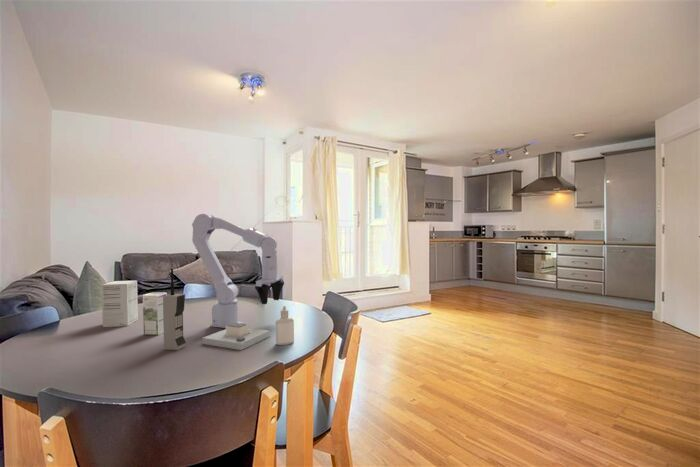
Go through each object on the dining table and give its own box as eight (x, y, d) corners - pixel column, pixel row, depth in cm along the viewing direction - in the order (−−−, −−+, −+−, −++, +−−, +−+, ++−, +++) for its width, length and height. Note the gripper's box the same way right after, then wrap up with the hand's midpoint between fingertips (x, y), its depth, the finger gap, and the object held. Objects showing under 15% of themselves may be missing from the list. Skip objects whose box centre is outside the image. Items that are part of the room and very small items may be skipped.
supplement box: (114, 321, 139) (113, 280, 139) (138, 319, 140) (137, 280, 140) (101, 327, 129) (100, 284, 129) (127, 326, 131) (127, 283, 131)
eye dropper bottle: (292, 345, 105) (291, 307, 105) (274, 345, 105) (273, 307, 105) (295, 341, 109) (294, 304, 109) (278, 340, 109) (277, 304, 109)
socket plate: (202, 343, 108) (202, 335, 108) (233, 331, 121) (233, 324, 121) (241, 350, 102) (241, 340, 101) (269, 336, 114) (269, 328, 114)
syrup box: (168, 330, 124) (167, 291, 123) (157, 335, 118) (156, 294, 118) (154, 330, 124) (153, 291, 124) (142, 335, 118) (141, 294, 118)
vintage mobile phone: (178, 350, 102) (176, 269, 102) (163, 349, 103) (162, 269, 103) (186, 346, 106) (184, 267, 106) (172, 345, 107) (170, 267, 107)
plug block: (226, 341, 110) (225, 325, 110) (234, 337, 114) (234, 322, 114) (240, 343, 108) (239, 327, 108) (248, 339, 112) (248, 323, 112)
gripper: (266, 269, 123) (267, 306, 123) (288, 265, 136) (289, 299, 136) (251, 269, 126) (251, 305, 126) (274, 265, 139) (275, 297, 139)
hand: (270, 301), depth 131 cm, fingers open, 7 cm apart
